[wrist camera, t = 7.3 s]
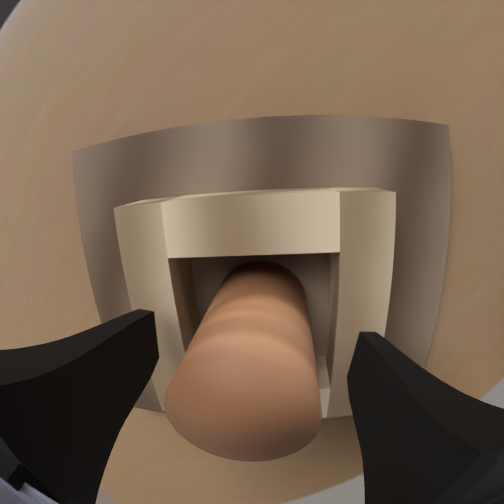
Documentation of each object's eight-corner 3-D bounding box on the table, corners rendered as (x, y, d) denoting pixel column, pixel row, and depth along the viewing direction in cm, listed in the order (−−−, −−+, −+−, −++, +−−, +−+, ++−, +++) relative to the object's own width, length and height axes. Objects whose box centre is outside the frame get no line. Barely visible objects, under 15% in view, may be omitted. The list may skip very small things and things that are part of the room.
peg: (263, 241, 12) (240, 328, 6) (324, 305, 13) (352, 423, 6) (200, 298, 13) (137, 403, 7) (259, 353, 14) (241, 473, 7)
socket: (438, 127, 11) (478, 119, 8) (406, 397, 15) (421, 435, 12) (83, 151, 13) (39, 151, 10) (137, 397, 17) (117, 431, 14)
